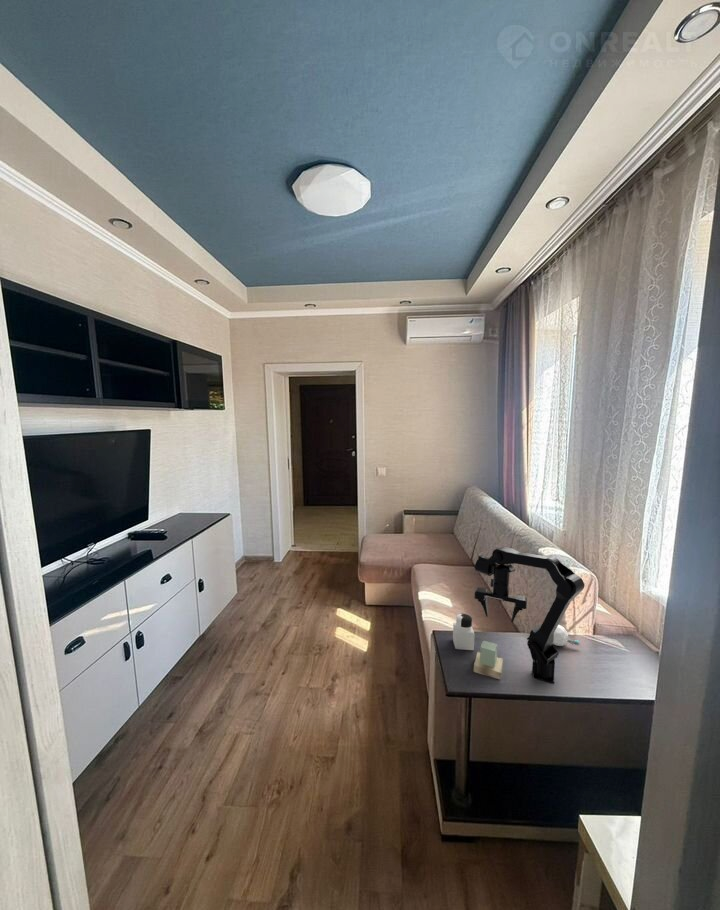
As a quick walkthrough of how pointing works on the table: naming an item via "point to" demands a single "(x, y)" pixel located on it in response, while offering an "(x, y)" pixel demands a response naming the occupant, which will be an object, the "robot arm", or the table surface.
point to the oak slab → (488, 668)
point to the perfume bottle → (562, 637)
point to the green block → (488, 654)
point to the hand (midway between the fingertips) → (499, 619)
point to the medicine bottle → (463, 632)
